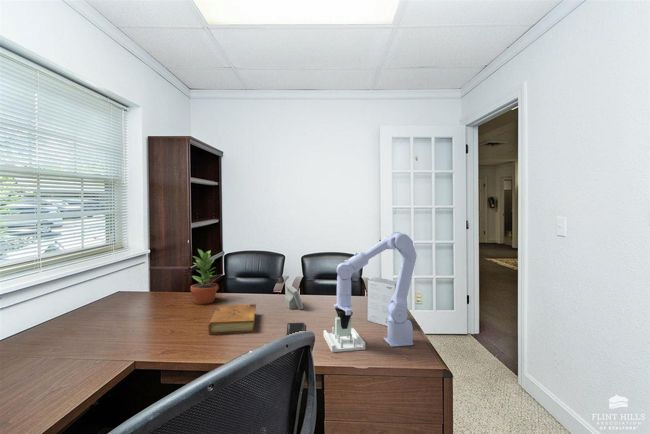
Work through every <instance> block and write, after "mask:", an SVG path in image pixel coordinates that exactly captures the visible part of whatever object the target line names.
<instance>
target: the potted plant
mask: <svg viewBox="0 0 650 434" xmlns="http://www.w3.org/2000/svg"><path fill="white" fill-rule="evenodd" d="M197 252H198V254H199V256H200V258H199V257H197V256H193V258H194V259H195V262H193V264H194V265H195V266H196V267H198V268H199V269H200V270H199V269H195V271H196V272H197V273H199V274H200V275H201V276H197V275H192V276H191V277H192V278H193V279H194V281H196V282H198V283H196V284H192V285H191V286H190V292H191V293H192V297H193V300H194V303H195V304H198V305H206V304H212V303H213V302H214V301H215V298H216V295H217V292H218V291H217V290H218V289H219V284H218V283H214V282H210V280H211V278H214V277H216V276H218V274H214V273H215V272H216V271H215V270H214V269H216V267H217V266H216V267H214V266H213V267H212V268H211V266H212V264H213V263H214V262H215V258H213V259H210V258H211V250H208V251H206V252H204V251H203V250H202V249H199V248H197ZM212 270H214V271H212Z"/></svg>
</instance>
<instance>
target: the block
mask: <svg viewBox="0 0 650 434" xmlns="http://www.w3.org/2000/svg"><path fill="white" fill-rule="evenodd" d="M351 328H352V317H350V320H349V324H348V328H347V329H342V327H341V320H340V317H338V316H336V317H334V333H335V335H336V337H338V335H340V337H343V336H350V334H351Z"/></svg>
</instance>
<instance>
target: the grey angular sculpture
mask: <svg viewBox="0 0 650 434" xmlns="http://www.w3.org/2000/svg"><path fill="white" fill-rule="evenodd" d="M285 288H286V291H287V294H286V295H285V297H284V306H286V308H287V309H289V310H295V309H298V310H303V309H304V304H303V302H302V299H301V296H300V293H299V291H298V290H297V288H295V287H294V286H293V285H292V284H286V285H285Z"/></svg>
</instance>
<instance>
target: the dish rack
mask: <svg viewBox="0 0 650 434" xmlns="http://www.w3.org/2000/svg"><path fill="white" fill-rule="evenodd" d="M331 328H332V331H331V332H330V333H329V332H327V330H326V329H323V338H324V339H325V340H324V341H325V342H326V344H327V345H328V347H329V350H330V351H331V353H339V352H349V351H350V352H351V351H352V352H353V351H360V350H361V351H364V350H366V342H365V341H364V339H363V338H362V337H361V336H360V335H359V333H358V332H357V331H356V329H355V328H354V327H351V334H350V336H343V337H340V335H338V337H336V335H335V326H332V327H331Z"/></svg>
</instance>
